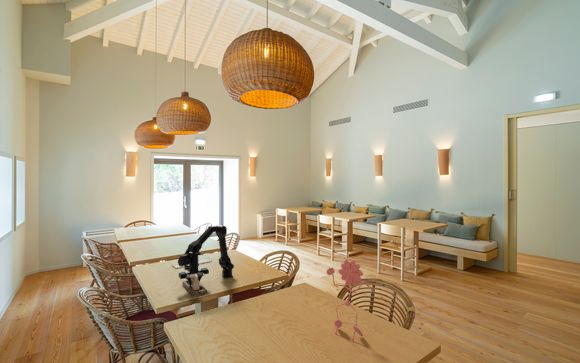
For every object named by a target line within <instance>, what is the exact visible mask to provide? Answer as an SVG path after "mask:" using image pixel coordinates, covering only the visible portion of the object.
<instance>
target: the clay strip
mask: <svg viewBox="0 0 580 363" xmlns="http://www.w3.org/2000/svg"><path fill="white" fill-rule="evenodd" d="M190 277H191V288H192V289H193V290H194V291H199V290H200V289H199V283H200V282H199V280H198V278H197V274H194V275H190Z"/></svg>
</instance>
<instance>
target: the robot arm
mask: <svg viewBox="0 0 580 363" xmlns="http://www.w3.org/2000/svg"><path fill="white" fill-rule="evenodd" d="M213 233H215V235H216V237H217V238H218V245H219V252H220V257H219V258H218V265H219V266H220V268H221V269H222V270H221V271H222V272H221V276H222V277H223V278H225V279H229V278H232V277H234V275H233V269H234V268H235V265H234V264H233V263H232V261H231V260H232V259H231V257H230V256H229V255H228V248H227V247H228V246H227V241H226V236H227V233H228V229H227V226H226V225H221V224H217V225H216V226H215V225H214V226H213V225H209V226H208V227H207V228H206V229H205V231H204V232H202V234H201V235H200V236H199V237H198V238H197V239H196V240H193V241H192V242H191V243H189V244H188V246H187V248H186V250H185V251H184V254H183V255H179V257H178V260H177V264H178V265H179V266H180V267H182V266H184V267H183V268H184V269H183V270H184V271H180V272H179V273H178V278H179V279H180V280H184V279H185V280H188V282H189V284H188V285H189V286H190V287H191V288H192V286H191V277H190V275H194V274H195V275H196V277H197V278H198V280H199V283H200V282H201V280H202V278H203V277H204V276H205V275H208V274H210V270H209V269H208V268H207V267H203V268H200V270H199V265H200V264H198V260H199V256H201V255H202V253H200V251H201V249H202V247H203V244H205V242H206V241H207V240H208V239H209V238H210V237H211V236H212V234H213ZM188 265H189V266H188ZM186 271H187V272H186Z"/></svg>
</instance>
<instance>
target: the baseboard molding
mask: <svg viewBox="0 0 580 363" xmlns="http://www.w3.org/2000/svg"><path fill="white" fill-rule="evenodd" d="M212 262H213V261H212V259H210V258H203V259H198V264H199V265H203V264H207V263H212ZM171 266H172V268H174V269H175V270H177V268H178V269H181V268H182V267H183V268H184V266H182V267H180V266H179V265H178V263H176V264H172V265H171ZM188 266H189V265H188Z"/></svg>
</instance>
